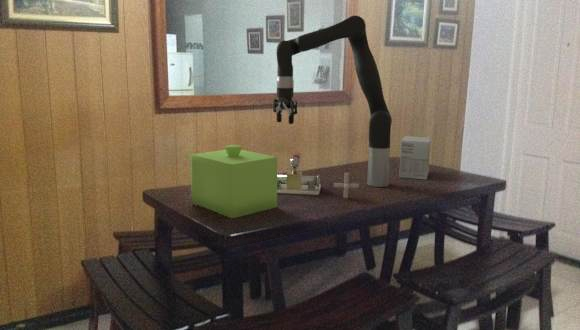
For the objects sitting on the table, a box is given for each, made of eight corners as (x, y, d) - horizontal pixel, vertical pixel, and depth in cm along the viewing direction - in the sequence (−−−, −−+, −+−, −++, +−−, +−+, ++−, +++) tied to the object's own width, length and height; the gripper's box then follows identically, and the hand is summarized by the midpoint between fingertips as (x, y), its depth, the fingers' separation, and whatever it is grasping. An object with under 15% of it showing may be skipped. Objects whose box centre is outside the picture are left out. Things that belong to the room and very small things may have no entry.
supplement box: (427, 180, 239) (429, 142, 235) (398, 177, 243) (400, 140, 239) (428, 172, 255) (431, 137, 251) (402, 170, 259) (404, 135, 255)
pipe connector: (357, 194, 210) (358, 171, 208) (358, 201, 200) (359, 176, 198) (333, 193, 211) (334, 170, 209) (333, 200, 201) (333, 175, 199)
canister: (191, 204, 193) (190, 144, 189) (235, 194, 208) (235, 138, 203) (232, 219, 176) (231, 153, 171) (276, 207, 191) (277, 147, 186)
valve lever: (298, 168, 212) (298, 158, 211) (289, 167, 212) (289, 158, 212) (301, 161, 226) (301, 152, 226) (293, 161, 227) (293, 152, 226)
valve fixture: (320, 187, 221) (321, 165, 219) (318, 194, 209) (319, 171, 207) (270, 185, 223) (271, 163, 221) (266, 192, 211) (266, 168, 209)
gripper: (301, 87, 223) (301, 123, 226) (281, 85, 233) (281, 121, 237) (288, 87, 218) (288, 125, 221) (268, 86, 229) (268, 122, 232)
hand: (284, 122), depth 229 cm, fingers open, 8 cm apart
